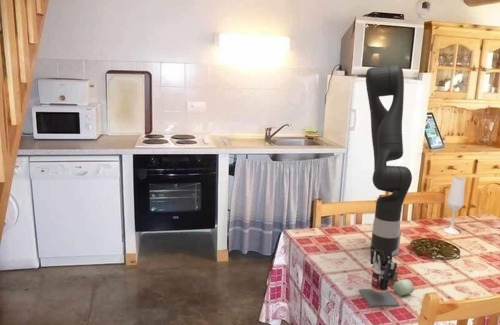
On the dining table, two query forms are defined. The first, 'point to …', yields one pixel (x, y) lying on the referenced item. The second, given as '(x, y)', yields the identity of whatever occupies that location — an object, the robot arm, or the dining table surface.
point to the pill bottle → (376, 278)
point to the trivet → (378, 298)
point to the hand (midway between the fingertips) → (379, 284)
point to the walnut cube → (391, 282)
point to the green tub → (403, 287)
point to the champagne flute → (455, 200)
